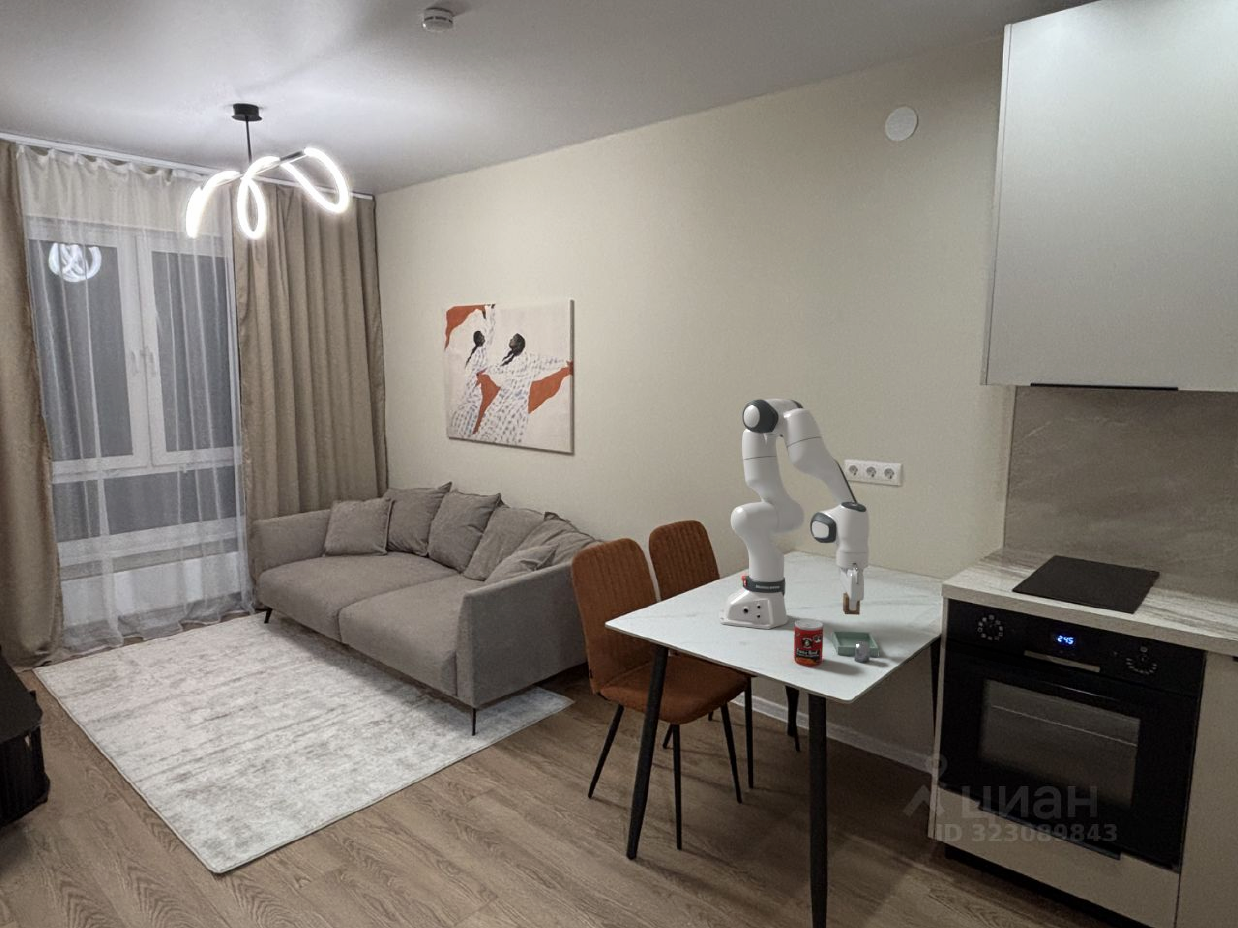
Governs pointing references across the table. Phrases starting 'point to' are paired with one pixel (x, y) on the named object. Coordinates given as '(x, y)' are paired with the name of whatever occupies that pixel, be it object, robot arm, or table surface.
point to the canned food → (808, 642)
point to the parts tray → (852, 642)
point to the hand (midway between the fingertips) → (850, 606)
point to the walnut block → (846, 604)
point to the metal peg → (862, 652)
